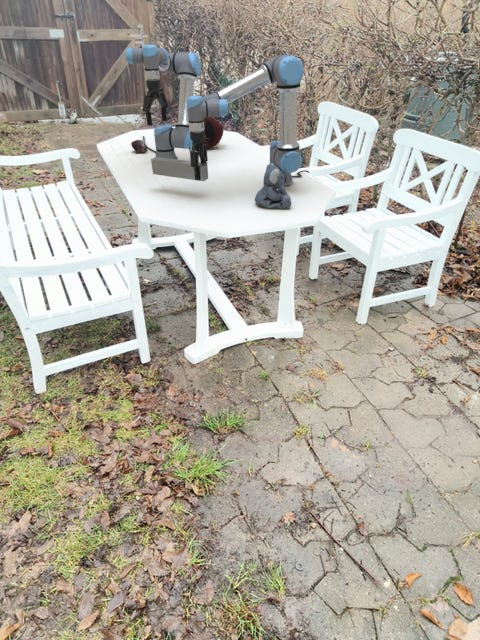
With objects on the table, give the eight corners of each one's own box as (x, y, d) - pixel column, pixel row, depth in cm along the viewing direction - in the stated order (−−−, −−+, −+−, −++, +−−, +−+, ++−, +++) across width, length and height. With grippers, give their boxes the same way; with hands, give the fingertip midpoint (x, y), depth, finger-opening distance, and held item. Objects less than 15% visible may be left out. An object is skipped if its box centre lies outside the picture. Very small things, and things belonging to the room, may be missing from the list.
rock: (144, 151, 325) (130, 152, 321) (142, 138, 322) (128, 139, 318) (149, 152, 316) (135, 153, 312) (147, 139, 312) (133, 140, 308)
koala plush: (292, 209, 224) (294, 170, 213) (256, 210, 223) (257, 171, 212) (286, 197, 238) (288, 160, 227) (252, 199, 237) (253, 161, 226)
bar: (153, 174, 244) (151, 159, 240) (158, 171, 248) (156, 156, 243) (203, 181, 232) (202, 165, 227) (208, 178, 235) (207, 163, 231)
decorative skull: (189, 122, 333) (186, 119, 309) (220, 115, 332) (219, 111, 309) (196, 152, 340) (193, 151, 316) (226, 145, 339) (226, 144, 315)
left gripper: (143, 82, 224) (149, 128, 236) (172, 77, 242) (175, 119, 254) (131, 82, 227) (137, 126, 239) (161, 76, 245) (165, 118, 257)
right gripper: (193, 135, 213) (197, 184, 226) (212, 127, 226) (215, 174, 239) (180, 134, 216) (184, 182, 229) (200, 126, 229) (203, 172, 242)
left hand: (157, 123), depth 247 cm, fingers open, 13 cm apart
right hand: (200, 178), depth 234 cm, fingers closed on bar, 5 cm apart
